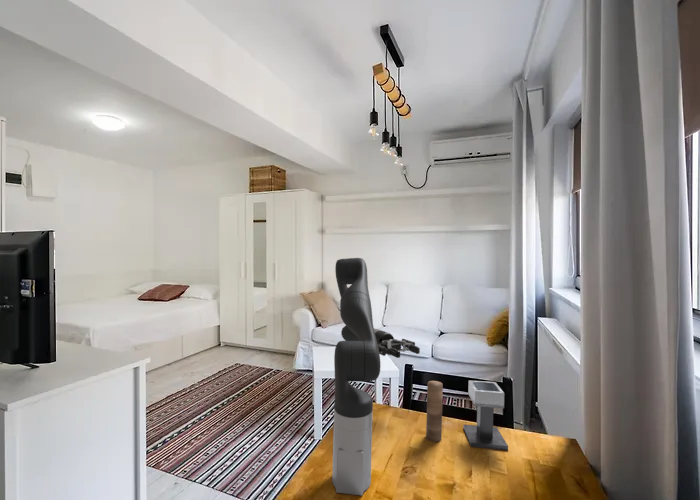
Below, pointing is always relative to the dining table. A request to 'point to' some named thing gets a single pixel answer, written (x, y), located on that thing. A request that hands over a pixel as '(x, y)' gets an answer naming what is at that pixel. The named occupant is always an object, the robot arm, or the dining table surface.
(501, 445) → the stand
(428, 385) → the walnut rail post
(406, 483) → the dining table surface
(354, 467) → the robot arm
